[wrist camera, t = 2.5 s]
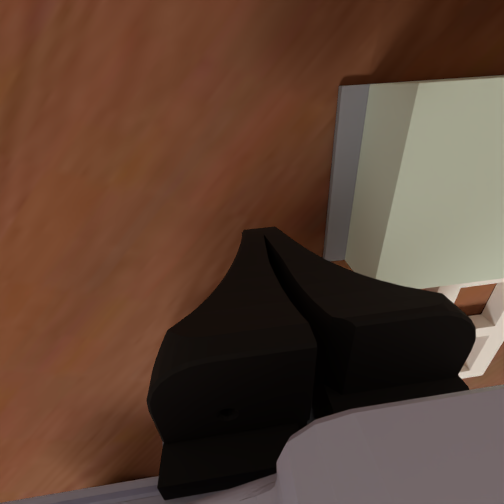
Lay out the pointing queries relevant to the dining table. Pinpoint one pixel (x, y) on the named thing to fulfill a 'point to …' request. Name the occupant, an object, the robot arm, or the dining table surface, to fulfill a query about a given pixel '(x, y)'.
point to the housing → (430, 183)
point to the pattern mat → (345, 167)
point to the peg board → (481, 326)
